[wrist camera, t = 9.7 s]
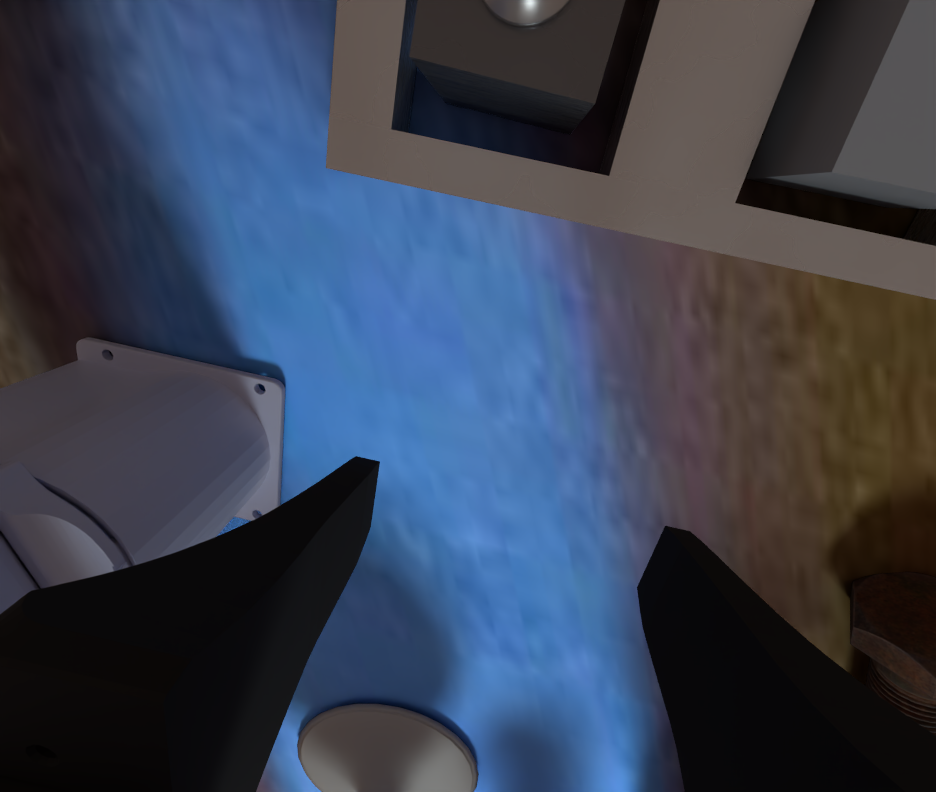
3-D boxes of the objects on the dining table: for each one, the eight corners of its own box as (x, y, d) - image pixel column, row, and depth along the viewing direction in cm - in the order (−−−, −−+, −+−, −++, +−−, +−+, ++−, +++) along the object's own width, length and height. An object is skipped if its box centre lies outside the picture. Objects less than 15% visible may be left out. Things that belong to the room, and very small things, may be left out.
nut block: (445, 103, 17) (406, 53, 11) (475, -60, 15) (447, -225, 9) (569, 134, 17) (596, 101, 11) (615, -25, 15) (675, -167, 9)
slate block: (745, 179, 17) (831, 172, 12) (812, 4, 15) (947, -84, 10) (885, 207, 17) (1027, 211, 12) (973, 35, 15) (1183, -39, 10)
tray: (350, 171, 18) (325, 168, 15) (382, -203, 14) (355, -280, 11) (931, 297, 17) (991, 311, 15) (1137, -49, 13) (1259, -97, 11)
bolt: (827, 736, 29) (853, 552, 24) (940, 781, 26) (1002, 583, 21) (824, 838, 25) (854, 647, 19) (957, 905, 22) (1040, 703, 16)
